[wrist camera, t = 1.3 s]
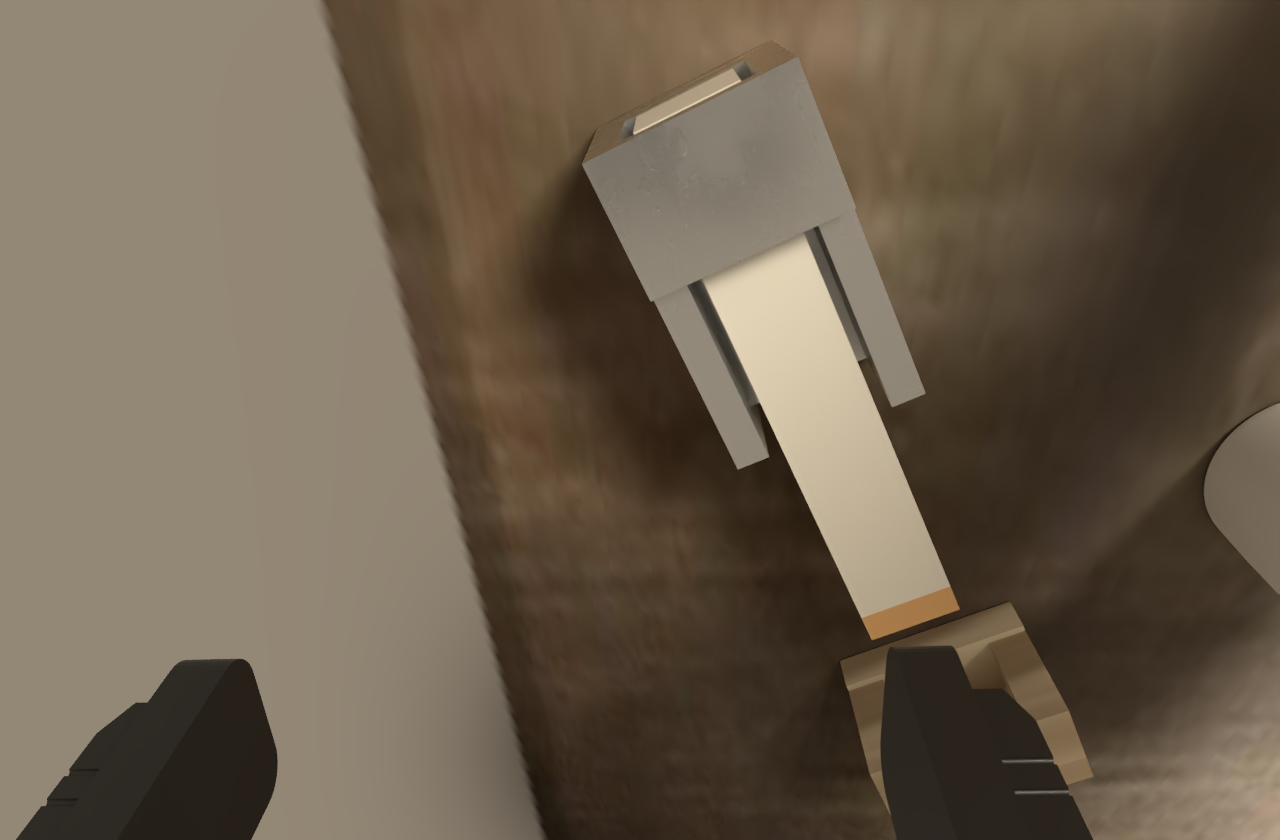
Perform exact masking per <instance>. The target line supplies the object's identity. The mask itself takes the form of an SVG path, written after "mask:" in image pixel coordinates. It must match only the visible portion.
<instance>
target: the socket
mask: <svg viewBox="0 0 1280 840" xmlns="http://www.w3.org/2000/svg"><path fill="white" fill-rule="evenodd" d="M945 645H950V646H953V647H954V648H955V650H956V651H957V654H958V656H959V658H960V660H961V663H962V665H963V668H964V670H965V673H966V675H967V677H968V680H969V682H970V685H971V687H972V689H994V688H1003V689H1004V690H1005V691H1006V692H1007V693H1008V694H1009V695H1010V696H1011V697H1012V698H1013V699H1014V700H1015V701H1016V702H1017V703H1018V704H1019V705H1020V706H1022V707H1023V708H1024V709H1025V710H1026V711H1027V712H1028V713H1029V714H1030V715H1031V716H1032V717H1033V718H1034V719H1035V720H1036V722H1037V724H1038V726H1039V728H1040V730H1041V732H1042V734H1043V736H1044V738H1045V740H1046V743H1047V745H1048V747H1049V749H1050V751H1051V753H1052V755H1053V761H1054V764H1057V765H1058V768H1059V770H1060V772H1061V774H1062V776H1063V778H1064V780H1065V782H1066V784H1067V785H1068V784H1072V783H1075V782H1078V781H1081V780H1085V779H1088V778H1091V777H1094V776H1093V773H1092V771H1091V768H1090V765H1089V763H1088V760H1087V757H1086V755H1085V752H1084V749H1083V747H1082V744H1081V741H1080V739H1079V736H1078V733H1077V731H1076V728H1075V725H1074V723H1073V720H1072V717H1071V715H1070V712H1069V710H1068V708H1067V706H1066V704H1065V702H1064V701H1063V699H1062V697H1061V695H1060V693H1059V692H1058V690H1057V688H1056V686H1055V684H1054V682H1053V681H1052V679H1051V677H1050V675H1049V673H1048V671H1047V670H1046V668H1045V666H1044V664H1043V662H1042V660H1041V659H1040V657H1039V655H1038V653H1037V651H1036V649H1035V648H1034V646H1033V644H1032V642H1031V640H1030V638H1029V637H1028V635H1027V633H1026V631H1025V629H1024V626H1023V624H1022V622H1021V621H1020V619H1019V617H1018V615H1017V613H1016V611H1015V610H1014V608H1013V606H1012V604H1011V602H1007V603H1004V604H1001V605H998V606H995V607H992V608H990V609H987V610H984V611H981V612H978V613H975V614H972V615H970V616H967V617H964V618H961V619H958V620H955V621H952V622H949V623H947V624H944V625H941V626H938V627H935V628H932V629H929V630H927V631H924V632H921V633H918V634H915V635H912V636H909V637H907V638H904V639H901V640H898V641H895V642H892V643H889V644H887V645H884V646H881V647H878V648H875V649H872V650H869V651H866V652H864V653H861V654H858V655H855V656H852V657H849V658H846V659H844V660H841V661H840V664H841V668H842V671H843V675H844V679H845V683H846V687H847V689H848V691H849V695H850V699H851V703H852V706H853V710H854V714H855V718H856V722H857V726H858V730H859V734H860V738H861V742H862V746H863V750H864V754H865V757H866V761H867V765H868V769H869V773H870V776H871V778H872V780H873V782H874V784H875V785H876V787H877V789H878V791H879V793H880V795H881V797H882V799H883V801H884V803H885V805H886V807H887V809H888V811H889V813H890V810H889V806H888V802H887V798H886V794H885V789H884V783H883V777H882V768H881V754H880V740H881V725H882V712H883V698H884V685H885V671H886V659H887V653H888V649H889V648H890V647H899V646H945ZM890 815H891V814H890Z"/></svg>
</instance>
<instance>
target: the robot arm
mask: <svg viewBox="0 0 1280 840" xmlns="http://www.w3.org/2000/svg"><path fill="white" fill-rule="evenodd" d="M880 754H881V768H882V777H883V783H884V789H885V794H886V798H887V802H888V806H889V810H890V814H891V818H892V821H893V825H894V829H895V833H896V837H897V840H1093V838H1092V836H1091V834H1090V832H1089V830H1088V828H1087V826H1086V824H1085V822H1084V820H1083V818H1082V815H1081V813H1080V811H1079V809H1078V807H1077V805H1076V803H1075V801H1074V799H1073V797H1072V796H1069V792H1068V786H1067V784H1066V782H1065V780H1064V778H1063V776H1062V774H1061V772H1060V770H1059V768H1058V765H1057V764H1054V761H1053V755H1052V753H1051V751H1050V749H1049V747H1048V745H1047V743H1046V740H1045V738H1044V736H1043V734H1042V732H1041V730H1040V728H1039V726H1038V724H1037V722H1036V720H1035V719H1034V718H1033V717H1032V716H1031V715H1030V714H1029V713H1028V712H1027V711H1026V710H1025V709H1024V708H1023V707H1022V706H1020V705H1019V704H1018V703H1017V702H1016V701H1015V700H1014V699H1013V698H1012V697H1011V696H1010V695H1009V694H1008V693H1007V692H1006V691H1005V690H1004V689H1003V688H994V689H972V687H971V685H970V682H969V680H968V677H967V675H966V673H965V670H964V668H963V665H962V663H961V660H960V658H959V656H958V654H957V651H956V650H955V648H954V647H953V646H950V645H945V646H899V647H890V648H889V649H888V653H887V659H886V671H885V685H884V698H883V712H882V725H881V740H880ZM69 770H70V773H69V776H64V777H63V778H62V780H61V781H60V782H59V784H58V785H57V786H56V788H55V789H54V790H53V792H52V793H51V794H50V796H49V797H48V798H47V805H46V806H41V808H40V809H39V810H38V811H37V813H36V814H35V815H34V817H33V818H32V819H31V821H30V822H29V823H28V825H27V826H26V827H25V828H24V830H23V831H22V832H21V834H20V835H19V836H18V838H17V839H16V840H251V839H252V837H253V835H254V833H255V831H256V829H257V826H258V824H259V822H260V820H261V818H262V816H263V814H264V812H265V810H266V808H267V806H268V804H269V801H270V799H271V797H272V794H273V791H274V787H275V782H276V777H277V751H276V747H275V743H274V739H273V736H272V733H271V729H270V726H269V723H268V719H267V716H266V713H265V709H264V706H263V703H262V699H261V696H260V693H259V689H258V686H257V683H256V679H255V676H254V673H253V670H252V668H251V666H250V664H249V663H248V662H247V661H245V660H244V659H211V660H184V661H181V662H179V663H178V664H176V665H175V666H174V667H173V669H172V670H171V671H170V672H169V674H168V675H167V677H166V678H165V679H164V681H163V682H162V684H161V685H160V686H159V688H158V689H157V691H156V692H155V693H154V695H153V696H152V698H151V699H150V700H149V702H148V703H135V704H134V705H132V706H131V707H130V708H129V709H127V710H126V711H125V712H124V713H122V714H121V715H120V716H119V717H117V718H116V719H115V720H114V721H112V722H111V723H110V724H108V725H107V726H106V727H104V728H103V729H102V730H101V731H99V732H98V733H97V734H96V735H95V736H94V738H93V739H92V740H91V742H90V743H89V744H88V746H87V747H86V748H85V749H84V751H83V752H82V753H81V755H80V756H79V757H78V759H77V760H76V761H75V763H74V764H73V765H72V767H71V768H70V769H69Z"/></svg>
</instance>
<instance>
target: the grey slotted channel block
mask: <svg viewBox="0 0 1280 840" xmlns="http://www.w3.org/2000/svg"><path fill="white" fill-rule="evenodd" d="M732 68H733V70H734V71H735V72H736V74H737V75H738V77H739V78H740V80H741V82H739V83H737V84H735V85H733V86H731V87H729V88H727V89H725V90H723V91H721V92H719V93H717V94H715V95H713V96H711V97H709V98H707V99H705V100H703V101H701V102H699V103H697V104H695V105H693V106H691V107H689V108H687V109H685V110H683V111H681V112H679V113H677V114H675V115H673V116H671V117H669V118H667V119H665V120H663V121H661V122H659V123H657V124H655V125H653V126H651V127H649V128H647V129H645V130H643V131H641V132H639V133H637V134H635V135H634V134H633V131H634V126H635V121H636V117H637V116H639V115H641V114H643V113H645V112H647V111H649V110H651V109H653V108H655V107H657V106H659V105H661V104H663V103H665V102H667V101H669V100H671V99H673V98H675V97H677V96H679V95H681V94H683V93H685V92H687V91H689V90H691V89H693V88H695V87H697V86H699V85H701V84H703V83H705V82H707V81H709V80H711V79H713V78H715V77H717V76H718V75H720V74H722V73H724V72H726V71H728V70H730V69H732ZM582 166H583V168H584V170H585V172H586V174H587V176H588V178H589V180H590V182H591V184H592V186H593V188H594V190H595V192H596V194H597V196H598V198H599V200H600V202H601V204H602V206H603V208H604V210H605V212H606V214H607V216H608V218H609V220H610V222H611V224H612V226H613V228H614V230H615V232H616V234H617V236H618V238H619V240H620V242H621V244H622V246H623V248H624V250H625V252H626V254H627V256H628V258H629V260H630V262H631V264H632V266H633V268H634V270H635V272H636V274H637V276H638V278H639V280H640V282H641V284H642V286H643V288H644V290H645V292H646V294H647V296H648V298H649V300H650V302H651V301H654V302H655V304H656V306H657V308H658V310H659V312H660V314H661V316H662V318H663V320H664V322H665V324H666V326H667V328H668V330H669V332H670V334H671V336H672V338H673V340H674V342H675V344H676V346H677V348H678V350H679V352H680V354H681V356H682V358H683V360H684V362H685V364H686V366H687V368H688V370H689V372H690V374H691V376H692V378H693V380H694V382H695V384H696V386H697V388H698V390H699V392H700V394H701V396H702V398H703V400H704V402H705V404H706V406H707V408H708V410H709V412H710V414H711V416H712V419H713V421H714V423H715V425H716V427H717V429H718V431H719V433H720V435H721V437H722V439H723V441H724V443H725V445H726V447H727V449H728V451H729V453H730V455H731V457H732V459H733V461H734V463H735V465H736V467H737V469H741V468H743V467H746V466H748V465H751V464H753V463H756V462H758V461H761V460H763V459H765V458H768V457H769V454H768V449H767V445H766V440H765V435H764V431H763V426H762V421H761V417H760V412H759V407H758V403H760V402H759V399H758V397H757V395H756V393H755V391H754V389H753V387H752V385H751V382H750V380H749V378H748V376H747V374H746V372H745V370H744V368H743V365H742V363H741V361H740V359H739V357H738V355H737V353H736V351H735V348H734V346H733V344H732V342H731V340H730V338H729V336H728V334H727V331H726V329H725V327H724V325H723V323H722V321H721V319H720V317H719V314H718V312H717V310H716V308H715V306H714V304H713V302H712V300H711V297H710V295H709V293H708V291H707V289H706V287H705V285H704V283H703V280H702V278H704V277H706V276H708V275H711V274H713V273H715V272H717V271H719V270H722V269H724V268H726V267H728V266H730V265H733V264H735V263H737V262H739V261H741V260H744V259H746V258H748V257H750V256H752V255H755V254H757V253H759V252H761V251H763V250H766V249H768V248H770V247H772V246H774V245H777V244H779V243H781V242H783V241H785V240H788V239H790V238H792V237H794V236H796V235H799V234H801V233H803V232H804V234H805V236H806V239H807V241H808V244H809V246H810V249H811V251H812V253H813V256H814V258H815V261H816V263H817V265H818V268H819V270H820V273H821V275H822V278H823V280H824V282H825V285H826V287H827V290H828V292H829V294H830V297H831V299H832V302H833V304H834V306H835V309H836V311H837V314H838V316H839V319H840V321H841V323H842V326H843V328H844V331H845V333H846V335H847V338H848V340H849V343H850V345H851V348H852V350H853V352H854V355H855V357H856V360H857V362H858V361H860V360H863V359H865V358H867V360H868V362H869V364H870V366H871V368H872V370H873V371H874V373H875V375H876V377H877V379H878V381H879V383H880V385H881V387H882V389H883V391H884V393H885V394H886V396H887V398H888V400H889V402H890V404H891V406H892V407H894V406H896V405H899V404H901V403H904V402H906V401H909V400H911V399H914V398H916V397H919V396H921V395H924V394H926V393H925V390H924V388H923V385H922V383H921V380H920V377H919V375H918V372H917V370H916V367H915V365H914V362H913V359H912V357H911V354H910V352H909V349H908V346H907V344H906V341H905V339H904V336H903V334H902V331H901V328H900V326H899V323H898V321H897V318H896V315H895V313H894V310H893V308H892V305H891V303H890V300H889V297H888V295H887V292H886V290H885V287H884V284H883V282H882V279H881V277H880V274H879V272H878V269H877V266H876V264H875V261H874V259H873V256H872V253H871V251H870V248H869V246H868V243H867V241H866V238H865V235H864V233H863V230H862V228H861V225H860V222H859V220H858V217H857V215H856V212H855V210H854V209H856V206H855V204H854V201H853V199H852V196H851V193H850V191H849V188H848V186H847V183H846V180H845V178H844V175H843V173H842V170H841V168H840V165H839V162H838V160H837V157H836V155H835V152H834V149H833V147H832V144H831V142H830V139H829V136H828V134H827V131H826V129H825V126H824V123H823V121H822V118H821V116H820V113H819V111H818V108H817V105H816V103H815V100H814V98H813V95H812V92H811V90H810V87H809V85H808V82H807V79H806V77H805V74H804V72H803V69H802V66H801V64H800V61H799V59H798V57H797V56H796V55H794V54H793V53H791V52H790V51H788V50H786V49H785V48H783V47H782V46H780V45H779V44H777V43H775V42H774V41H772V40H771V41H769V42H767V43H765V44H763V45H761V46H759V47H757V48H755V49H753V50H751V51H749V52H747V53H745V54H743V55H741V56H739V57H737V58H735V59H733V60H731V61H729V62H727V63H725V64H723V65H721V66H719V67H717V68H715V69H713V70H711V71H709V72H707V73H705V74H703V75H701V76H699V77H697V78H695V79H693V80H691V81H689V82H687V83H685V84H683V85H681V86H679V87H677V88H675V89H673V90H671V91H670V92H668V93H666V94H664V95H662V96H660V97H658V98H656V99H654V100H652V101H650V102H648V103H646V104H644V105H642V106H640V107H638V108H636V109H634V110H632V111H630V112H628V113H626V114H624V115H622V116H620V117H618V118H616V119H614V120H612V121H610V122H608V123H606V124H604V125H602V126H600V127H598V128H597V130H596V133H595V135H594V137H593V140H592V142H591V144H590V146H589V149H588V151H587V153H586V156H585V158H584V160H583V162H582Z"/></svg>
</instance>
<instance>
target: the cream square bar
mask: <svg viewBox="0 0 1280 840" xmlns="http://www.w3.org/2000/svg"><path fill="white" fill-rule="evenodd" d="M739 82H741V80H740V78H739V77H738V75H737V74H736V72H735V71H734V70H733V68H732V69H730V70H728V71H726V72H724V73H722V74H720V75H718V76H717V77H715V78H713V79H711V80H709V81H707V82H705V83H703V84H701V85H699V86H697V87H695V88H693V89H691V90H689V91H687V92H685V93H683V94H681V95H679V96H677V97H675V98H673V99H671V100H669V101H667V102H665V103H663V104H661V105H659V106H657V107H655V108H653V109H651V110H649V111H647V112H645V113H643V114H641V115H639V116H637V117H636V121H635V126H634V131H633V134H634V135H635V134H637V133H639V132H641V131H643V130H645V129H647V128H649V127H651V126H653V125H655V124H657V123H659V122H661V121H663V120H665V119H667V118H669V117H671V116H673V115H675V114H677V113H679V112H681V111H683V110H685V109H687V108H689V107H691V106H693V105H695V104H697V103H699V102H701V101H703V100H705V99H707V98H709V97H711V96H713V95H715V94H717V93H719V92H721V91H723V90H725V89H727V88H729V87H731V86H733V85H735V84H737V83H739ZM702 280H703V283H704V285H705V287H706V289H707V291H708V293H709V295H710V297H711V300H712V302H713V304H714V306H715V308H716V310H717V312H718V314H719V317H720V319H721V321H722V323H723V325H724V327H725V329H726V331H727V334H728V336H729V338H730V340H731V342H732V344H733V346H734V348H735V351H736V353H737V355H738V357H739V359H740V361H741V363H742V365H743V368H744V370H745V372H746V374H747V376H748V378H749V380H750V382H751V385H752V387H753V389H754V391H755V393H756V395H757V397H758V399H759V402H760V404H761V406H762V408H763V410H764V412H765V414H766V416H767V419H768V421H769V423H770V425H771V427H772V429H773V431H774V433H775V436H776V438H777V440H778V442H779V444H780V446H781V448H782V450H783V453H784V455H785V457H786V459H787V461H788V463H789V465H790V467H791V470H792V472H793V474H794V476H795V478H796V480H797V482H798V484H799V487H800V489H801V491H802V493H803V495H804V497H805V499H806V501H807V504H808V506H809V508H810V510H811V512H812V514H813V516H814V518H815V521H816V523H817V525H818V527H819V529H820V531H821V533H822V535H823V538H824V540H825V542H826V544H827V546H828V548H829V550H830V552H831V554H832V557H833V559H834V561H835V563H836V565H837V567H838V569H839V571H840V574H841V576H842V578H843V580H844V582H845V584H846V586H847V588H848V591H849V593H850V595H851V597H852V599H853V601H854V603H855V605H856V608H857V610H858V612H859V614H860V616H861V618H862V620H863V622H864V625H865V627H866V629H867V631H868V633H869V635H870V637H871V639H872V640H874V639H877V638H880V637H883V636H886V635H889V634H891V633H894V632H897V631H900V630H903V629H906V628H909V627H911V626H914V625H917V624H920V623H923V622H926V621H928V620H931V619H934V618H937V617H940V616H943V615H946V614H948V613H951V612H954V611H957V610H960V608H959V606H958V603H957V601H956V599H955V596H954V594H953V591H952V589H951V587H950V584H949V582H948V579H947V577H946V574H945V572H944V570H943V567H942V565H941V562H940V560H939V558H938V555H937V553H936V550H935V548H934V545H933V543H932V541H931V538H930V536H929V533H928V531H927V529H926V526H925V524H924V521H923V519H922V517H921V514H920V512H919V509H918V507H917V504H916V502H915V500H914V497H913V495H912V492H911V490H910V488H909V485H908V483H907V480H906V478H905V475H904V473H903V471H902V468H901V466H900V463H899V461H898V459H897V456H896V454H895V451H894V449H893V447H892V444H891V442H890V439H889V437H888V434H887V432H886V430H885V427H884V425H883V422H882V420H881V418H880V415H879V413H878V410H877V408H876V405H875V403H874V401H873V398H872V396H871V393H870V391H869V389H868V386H867V384H866V381H865V379H864V376H863V374H862V372H861V369H860V367H859V364H858V362H857V360H856V357H855V355H854V352H853V350H852V348H851V345H850V343H849V340H848V338H847V335H846V333H845V331H844V328H843V326H842V323H841V321H840V319H839V316H838V314H837V311H836V309H835V306H834V304H833V302H832V299H831V297H830V294H829V292H828V290H827V287H826V285H825V282H824V280H823V278H822V275H821V273H820V270H819V268H818V265H817V263H816V261H815V258H814V256H813V253H812V251H811V249H810V246H809V244H808V241H807V239H806V236H805V234H804V232H803V233H801V234H799V235H796V236H794V237H792V238H790V239H788V240H785V241H783V242H781V243H779V244H777V245H774V246H772V247H770V248H768V249H766V250H763V251H761V252H759V253H757V254H755V255H752V256H750V257H748V258H746V259H744V260H741V261H739V262H737V263H735V264H733V265H730V266H728V267H726V268H724V269H722V270H719V271H717V272H715V273H713V274H711V275H708V276H706V277H704V278H702Z"/></svg>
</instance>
